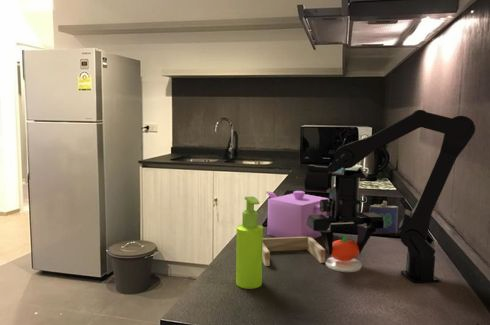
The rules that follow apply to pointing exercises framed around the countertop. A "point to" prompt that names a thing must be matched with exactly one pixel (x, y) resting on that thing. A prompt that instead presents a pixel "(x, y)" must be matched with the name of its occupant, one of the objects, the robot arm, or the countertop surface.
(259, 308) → the countertop surface
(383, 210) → the flask
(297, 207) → the teapot
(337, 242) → the pumpkin
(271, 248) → the wooden frame
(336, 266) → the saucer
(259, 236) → the soap dispenser
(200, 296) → the countertop surface
